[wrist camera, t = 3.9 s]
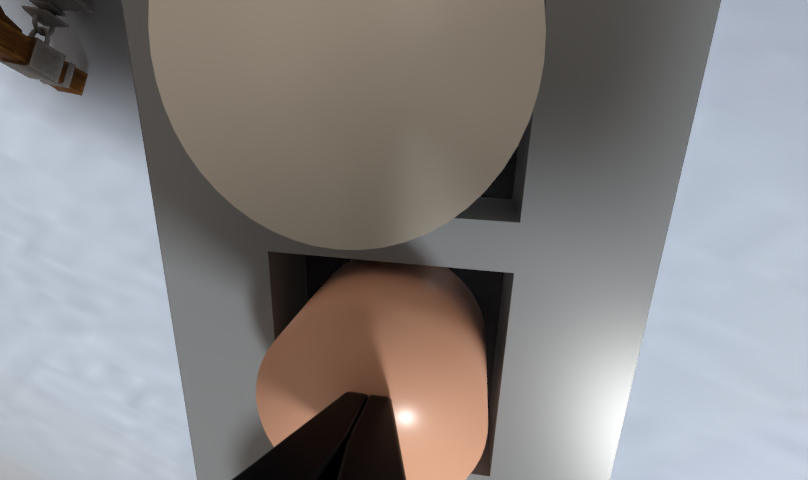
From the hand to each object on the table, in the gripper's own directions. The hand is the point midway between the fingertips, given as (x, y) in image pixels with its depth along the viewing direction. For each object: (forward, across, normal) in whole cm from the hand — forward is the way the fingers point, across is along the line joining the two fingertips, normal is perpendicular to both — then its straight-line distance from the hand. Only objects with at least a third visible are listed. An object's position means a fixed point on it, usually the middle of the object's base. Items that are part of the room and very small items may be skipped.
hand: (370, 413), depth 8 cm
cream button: (+1, 0, -6) cm, 6 cm away
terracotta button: (+3, 0, 0) cm, 3 cm away
